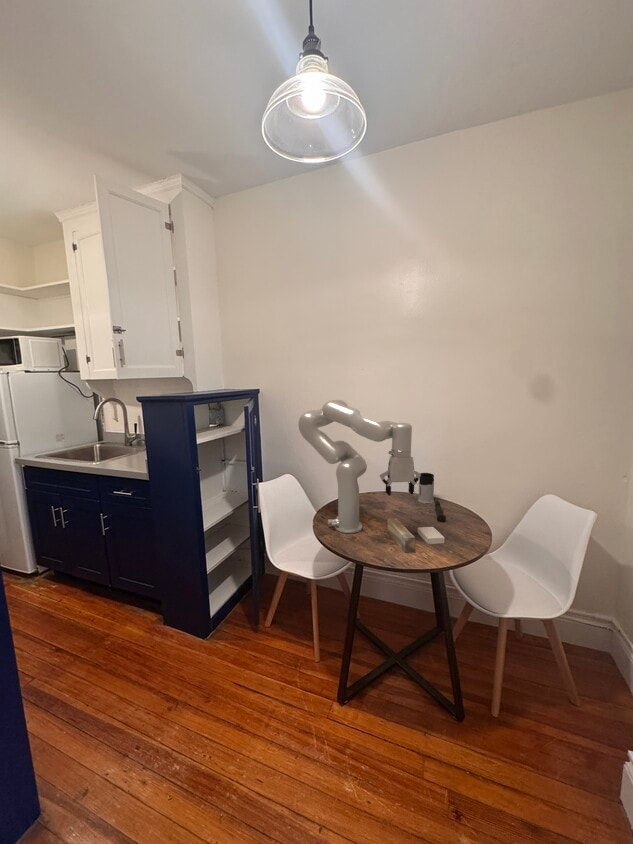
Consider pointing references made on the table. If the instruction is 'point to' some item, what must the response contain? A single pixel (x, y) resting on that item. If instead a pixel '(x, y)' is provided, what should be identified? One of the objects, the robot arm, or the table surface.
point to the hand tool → (439, 512)
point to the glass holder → (426, 488)
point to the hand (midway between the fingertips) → (399, 493)
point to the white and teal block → (430, 535)
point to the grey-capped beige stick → (401, 535)
